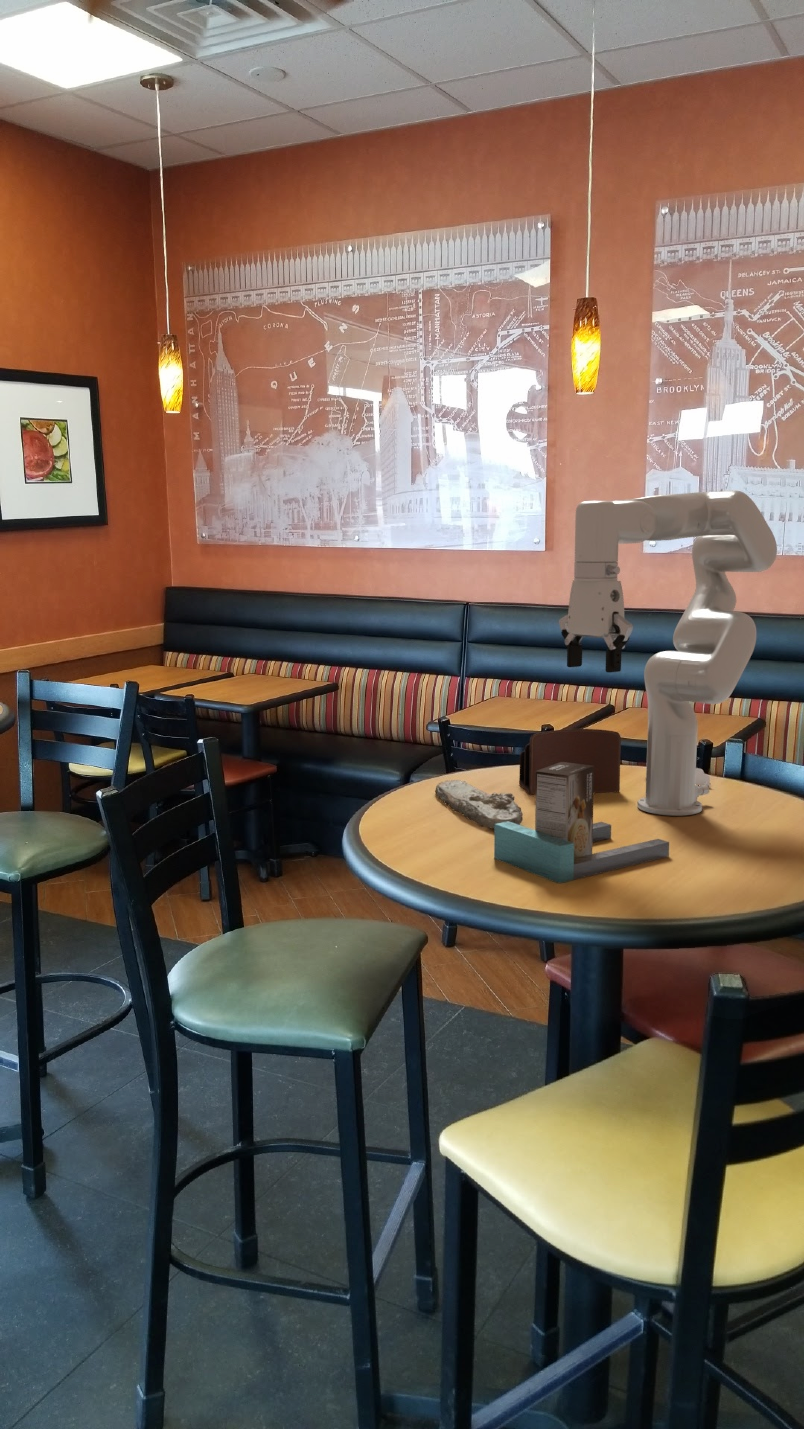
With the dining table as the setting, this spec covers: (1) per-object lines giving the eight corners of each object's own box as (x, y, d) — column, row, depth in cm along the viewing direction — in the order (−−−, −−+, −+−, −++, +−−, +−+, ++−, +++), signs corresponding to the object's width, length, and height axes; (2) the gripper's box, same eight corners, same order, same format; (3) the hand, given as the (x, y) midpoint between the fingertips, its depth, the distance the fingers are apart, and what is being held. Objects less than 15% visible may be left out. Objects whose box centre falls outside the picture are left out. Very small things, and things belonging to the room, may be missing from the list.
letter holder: (620, 793, 221) (622, 728, 219) (529, 796, 219) (530, 730, 217) (605, 782, 231) (607, 720, 229) (518, 785, 229) (519, 722, 227)
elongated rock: (467, 796, 225) (424, 802, 222) (466, 772, 224) (422, 778, 221) (537, 828, 192) (488, 836, 189) (535, 801, 191) (486, 808, 188)
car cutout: (716, 787, 228) (717, 767, 227) (705, 793, 223) (705, 772, 222) (653, 778, 237) (654, 759, 236) (640, 783, 232) (641, 764, 231)
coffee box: (559, 851, 178) (561, 760, 176) (593, 858, 175) (595, 765, 172) (533, 865, 171) (534, 770, 169) (568, 872, 167) (570, 774, 165)
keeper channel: (600, 835, 189) (601, 803, 188) (668, 856, 176) (670, 822, 175) (494, 858, 175) (494, 823, 174) (559, 883, 162) (559, 846, 161)
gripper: (647, 573, 177) (644, 672, 180) (577, 571, 191) (575, 663, 194) (616, 573, 173) (613, 675, 176) (546, 572, 187) (544, 666, 190)
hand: (593, 669), depth 185 cm, fingers open, 9 cm apart
